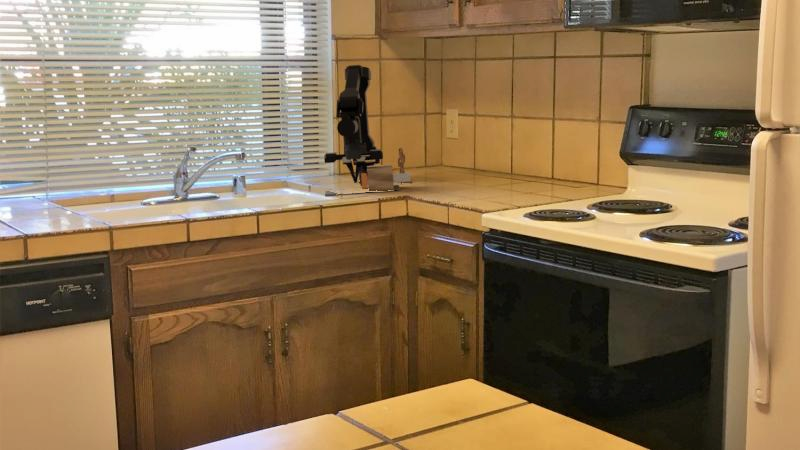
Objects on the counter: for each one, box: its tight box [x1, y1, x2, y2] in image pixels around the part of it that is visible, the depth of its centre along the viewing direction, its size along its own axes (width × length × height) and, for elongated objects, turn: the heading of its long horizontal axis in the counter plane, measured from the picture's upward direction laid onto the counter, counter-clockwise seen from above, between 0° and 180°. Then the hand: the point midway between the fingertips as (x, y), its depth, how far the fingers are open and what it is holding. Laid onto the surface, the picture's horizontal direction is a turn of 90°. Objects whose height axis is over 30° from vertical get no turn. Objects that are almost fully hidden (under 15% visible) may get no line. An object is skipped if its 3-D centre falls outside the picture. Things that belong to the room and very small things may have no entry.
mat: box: [324, 184, 401, 197], centre depth 295 cm, size 11×24×1 cm, turn 93°
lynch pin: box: [360, 171, 412, 189], centre depth 294 cm, size 5×16×5 cm, turn 93°
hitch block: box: [367, 163, 395, 191], centre depth 294 cm, size 10×8×7 cm
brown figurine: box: [397, 147, 412, 185], centre depth 310 cm, size 9×4×12 cm, turn 15°
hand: (355, 182), depth 294 cm, fingers closed
